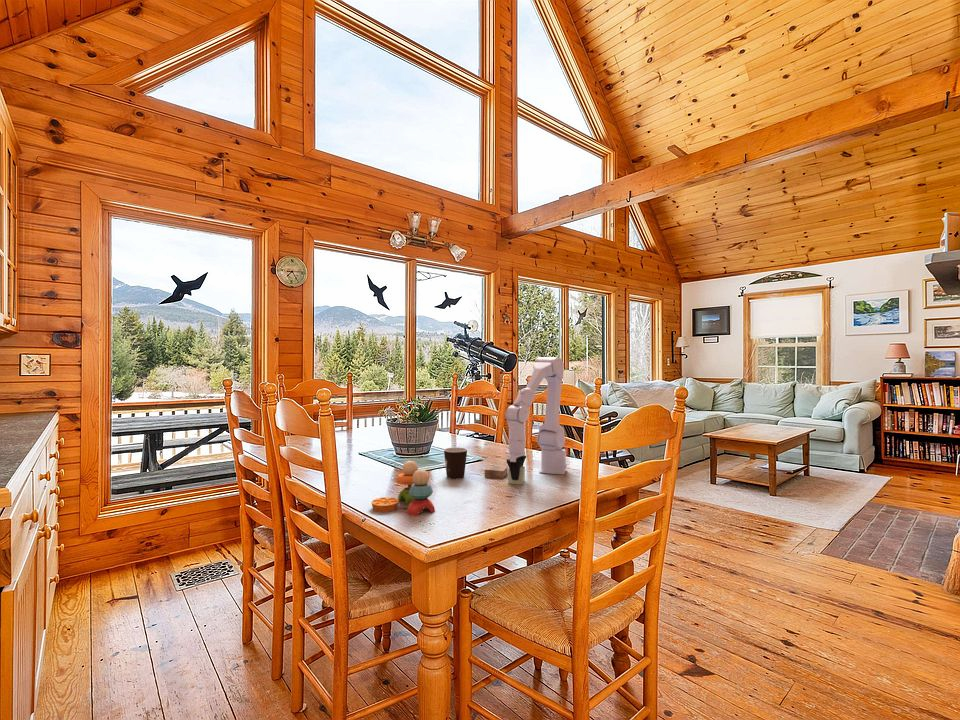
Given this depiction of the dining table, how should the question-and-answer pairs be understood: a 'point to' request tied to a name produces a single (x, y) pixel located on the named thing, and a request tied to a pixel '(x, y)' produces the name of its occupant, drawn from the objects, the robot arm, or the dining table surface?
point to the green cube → (520, 479)
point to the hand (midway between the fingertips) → (516, 477)
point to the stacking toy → (409, 492)
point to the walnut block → (496, 471)
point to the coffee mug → (455, 462)
